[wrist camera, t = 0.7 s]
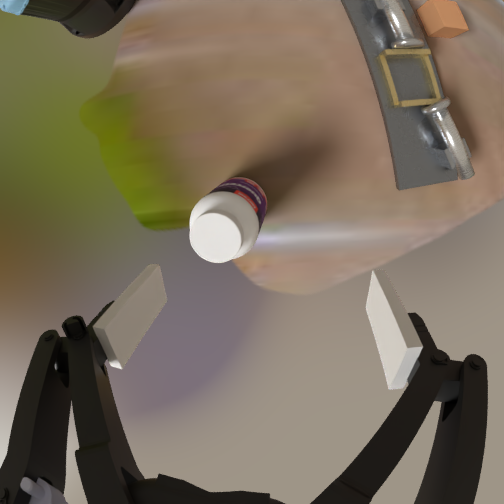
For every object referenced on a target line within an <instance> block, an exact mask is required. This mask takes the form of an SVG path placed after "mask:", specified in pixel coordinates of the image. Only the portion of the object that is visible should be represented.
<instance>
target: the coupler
mask: <svg viewBox="0 0 504 504" xmlns="http://www.w3.org/2000/svg"><path fill="white" fill-rule="evenodd" d="M416 11H417V13H418V15H419V17H420V19H421V22H422V24H423V26H424V28H425V31H426V33H427V36H430V37H444V38H453V37H455V36H457V35H459V34H461V33H463V32H466V31H468V30H469V29H468V26H467V24H466V22H465V20H464V17H463V15H462V13H461V11H460V9H459V7H458V5H457V3H456V2H453V1H448V0H428V1H427V2H426V3H424V4H423V5H422V6H421V7H420V8H419V9H417V10H416Z"/></svg>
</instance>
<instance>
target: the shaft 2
mask: <svg viewBox="0 0 504 504" xmlns="http://www.w3.org/2000/svg"><path fill="white" fill-rule="evenodd" d="M450 104H451V101H450V99H449V97H442V99H440V100H438V101H436V102H435V103H433V104H430V105H424V106H423V107H422V108H421V111H422V113H423V115H429V114H431V116H432V118H433V120H434V122H435V124H436V126H437V128H438V130H439V132H440V134H441V136H442V138H443V140H444V142H443V143H441V144H440V145H438V146H437V147H435V148H434V150H435V152H436V154H437V156H438V159H439V161H440V163H441V165H442V166H444V167H447V168H450V169H454V168H456V171H457V173H458V176H459V178H460V179H462V180H465V179H469V178H471V177H472V176H474V174H475V172H474V169H473V166H472V164H471V161H470V157H472V156H471V153H470V151H469V148H468V146H467V143H466V141H465V138H463V137H461V136H460V134H459V132H458V130H457V127H456V125H455V123H454V121H453V119H452V117H451V115H450V113H449V111H448V109H447V107H448V106H449V105H450Z"/></svg>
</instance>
